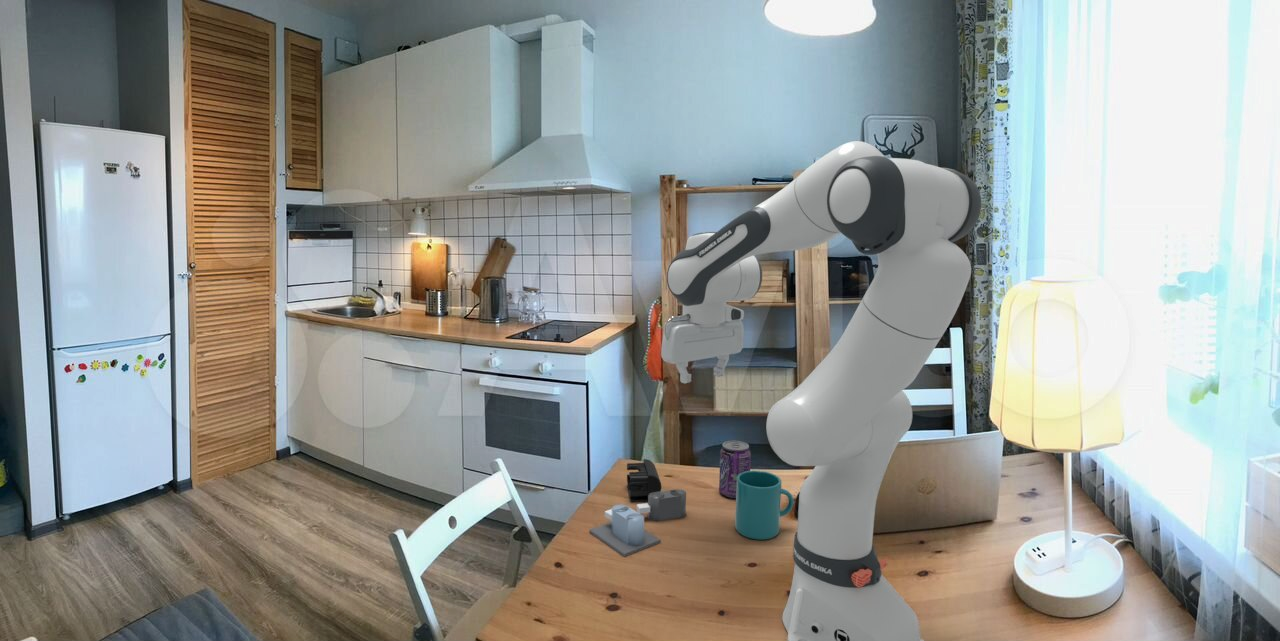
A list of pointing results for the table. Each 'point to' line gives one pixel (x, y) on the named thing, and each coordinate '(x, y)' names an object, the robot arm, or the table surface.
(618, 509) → the blue connector
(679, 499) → the dark gray connector
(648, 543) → the pad
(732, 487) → the beverage can
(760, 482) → the cup
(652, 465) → the end cap
